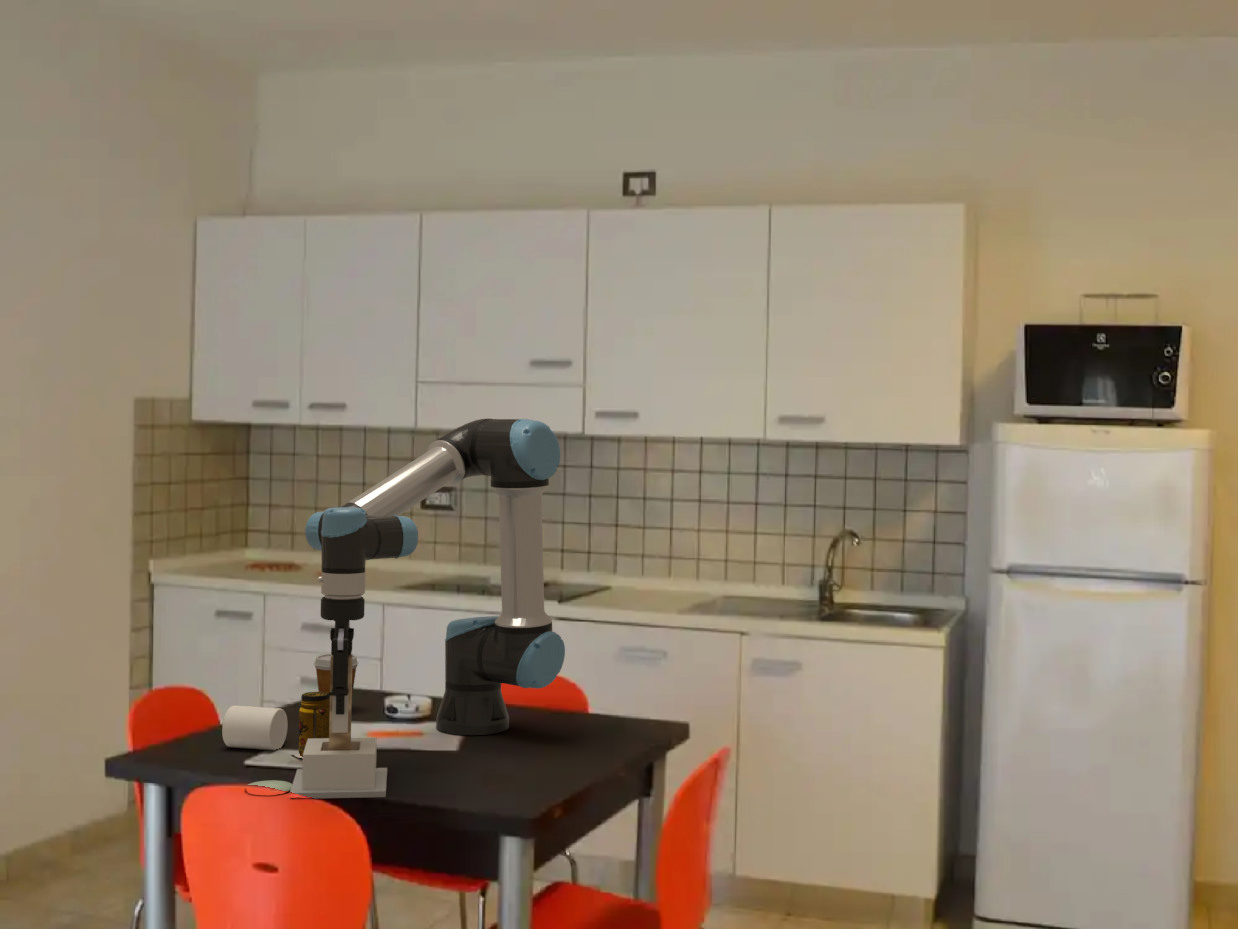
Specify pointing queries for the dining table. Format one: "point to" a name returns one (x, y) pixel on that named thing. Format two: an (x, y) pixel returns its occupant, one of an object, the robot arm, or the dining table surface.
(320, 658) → the disposable coffee cup
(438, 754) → the dining table surface
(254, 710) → the mug
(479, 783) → the dining table surface
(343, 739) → the beige wooden block
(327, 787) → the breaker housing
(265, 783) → the coaster
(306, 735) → the condiment
